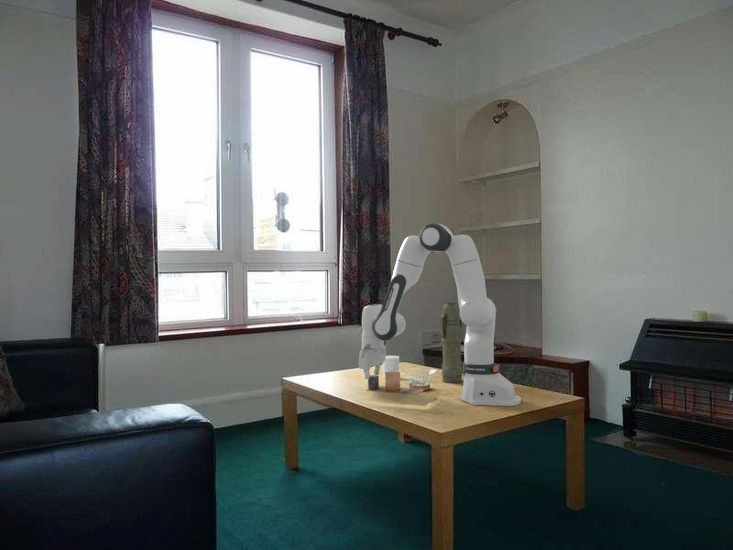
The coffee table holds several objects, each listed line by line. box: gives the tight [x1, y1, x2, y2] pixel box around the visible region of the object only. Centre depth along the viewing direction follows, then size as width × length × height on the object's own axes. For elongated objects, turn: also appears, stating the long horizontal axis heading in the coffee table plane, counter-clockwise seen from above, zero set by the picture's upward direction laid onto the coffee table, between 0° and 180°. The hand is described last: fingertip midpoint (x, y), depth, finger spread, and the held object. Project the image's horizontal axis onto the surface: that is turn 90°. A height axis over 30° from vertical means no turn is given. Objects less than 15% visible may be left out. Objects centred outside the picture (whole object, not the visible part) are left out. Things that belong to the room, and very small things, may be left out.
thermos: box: [439, 302, 463, 384], centre depth 251 cm, size 9×12×35 cm
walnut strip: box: [365, 374, 425, 395], centre depth 228 cm, size 22×10×6 cm, turn 66°
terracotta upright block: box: [384, 371, 401, 391], centre depth 228 cm, size 6×6×7 cm
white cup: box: [382, 355, 400, 380], centre depth 260 cm, size 8×8×10 cm
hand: (372, 376), depth 232 cm, fingers open, 8 cm apart
